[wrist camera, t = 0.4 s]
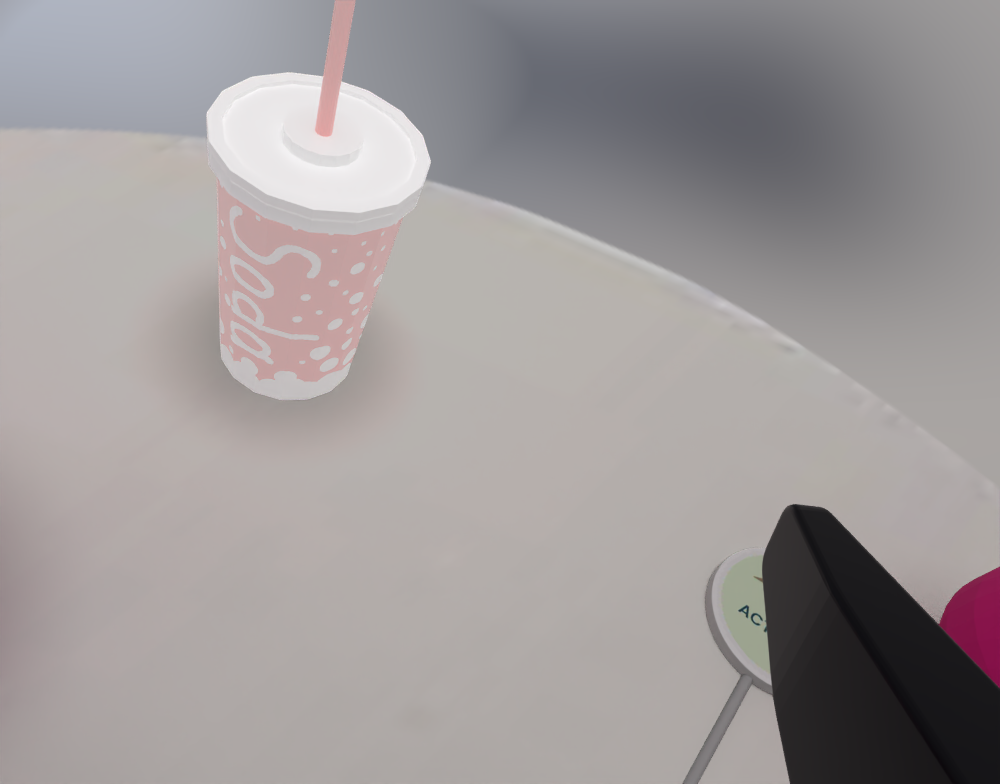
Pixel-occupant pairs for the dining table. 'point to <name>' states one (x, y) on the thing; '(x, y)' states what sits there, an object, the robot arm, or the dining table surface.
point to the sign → (736, 637)
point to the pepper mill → (977, 622)
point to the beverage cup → (306, 218)
